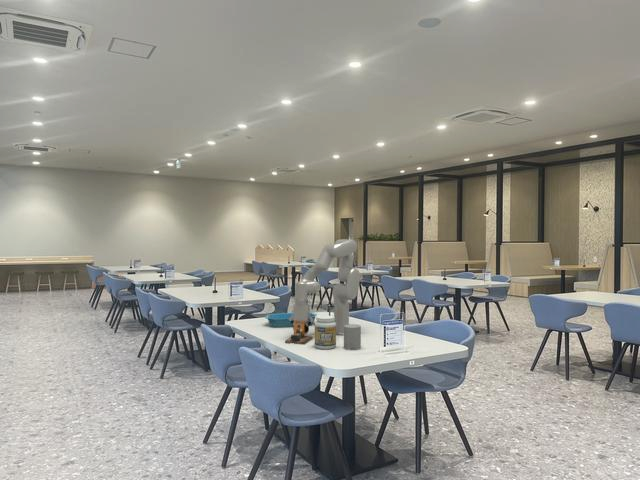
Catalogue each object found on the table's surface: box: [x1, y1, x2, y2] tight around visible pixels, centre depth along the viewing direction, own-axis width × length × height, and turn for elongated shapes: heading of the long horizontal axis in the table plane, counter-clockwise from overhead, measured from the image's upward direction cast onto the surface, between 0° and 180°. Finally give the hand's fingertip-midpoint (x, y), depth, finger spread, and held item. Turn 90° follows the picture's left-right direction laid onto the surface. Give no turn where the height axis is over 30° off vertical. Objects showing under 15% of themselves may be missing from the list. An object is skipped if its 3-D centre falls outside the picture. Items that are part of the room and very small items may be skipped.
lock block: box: [293, 321, 309, 336], centre depth 285 cm, size 6×8×7 cm
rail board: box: [284, 330, 314, 345], centre depth 282 cm, size 12×16×4 cm
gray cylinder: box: [343, 323, 362, 351], centre depth 264 cm, size 10×10×12 cm
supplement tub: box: [313, 315, 337, 350], centre depth 266 cm, size 12×12×17 cm
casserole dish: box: [264, 312, 318, 328], centre depth 334 cm, size 37×22×7 cm, turn 106°
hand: (301, 331), depth 286 cm, fingers closed on lock block, 6 cm apart
